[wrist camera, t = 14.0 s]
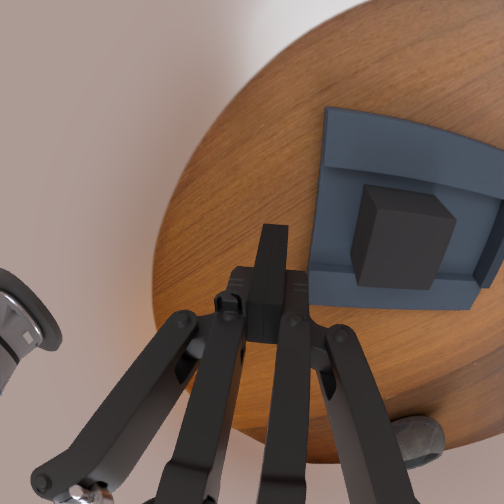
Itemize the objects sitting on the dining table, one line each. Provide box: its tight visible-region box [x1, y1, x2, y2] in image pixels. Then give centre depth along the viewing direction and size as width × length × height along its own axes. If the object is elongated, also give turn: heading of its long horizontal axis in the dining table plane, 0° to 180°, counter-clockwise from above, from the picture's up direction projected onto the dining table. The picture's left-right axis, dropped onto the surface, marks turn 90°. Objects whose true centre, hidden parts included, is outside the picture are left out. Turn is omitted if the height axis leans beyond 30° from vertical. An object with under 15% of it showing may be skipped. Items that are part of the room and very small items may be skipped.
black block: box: [350, 184, 457, 290], centre depth 18 cm, size 6×6×4 cm
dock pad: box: [306, 107, 504, 310], centre depth 19 cm, size 18×16×3 cm
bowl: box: [391, 416, 445, 470], centre depth 38 cm, size 15×15×10 cm
